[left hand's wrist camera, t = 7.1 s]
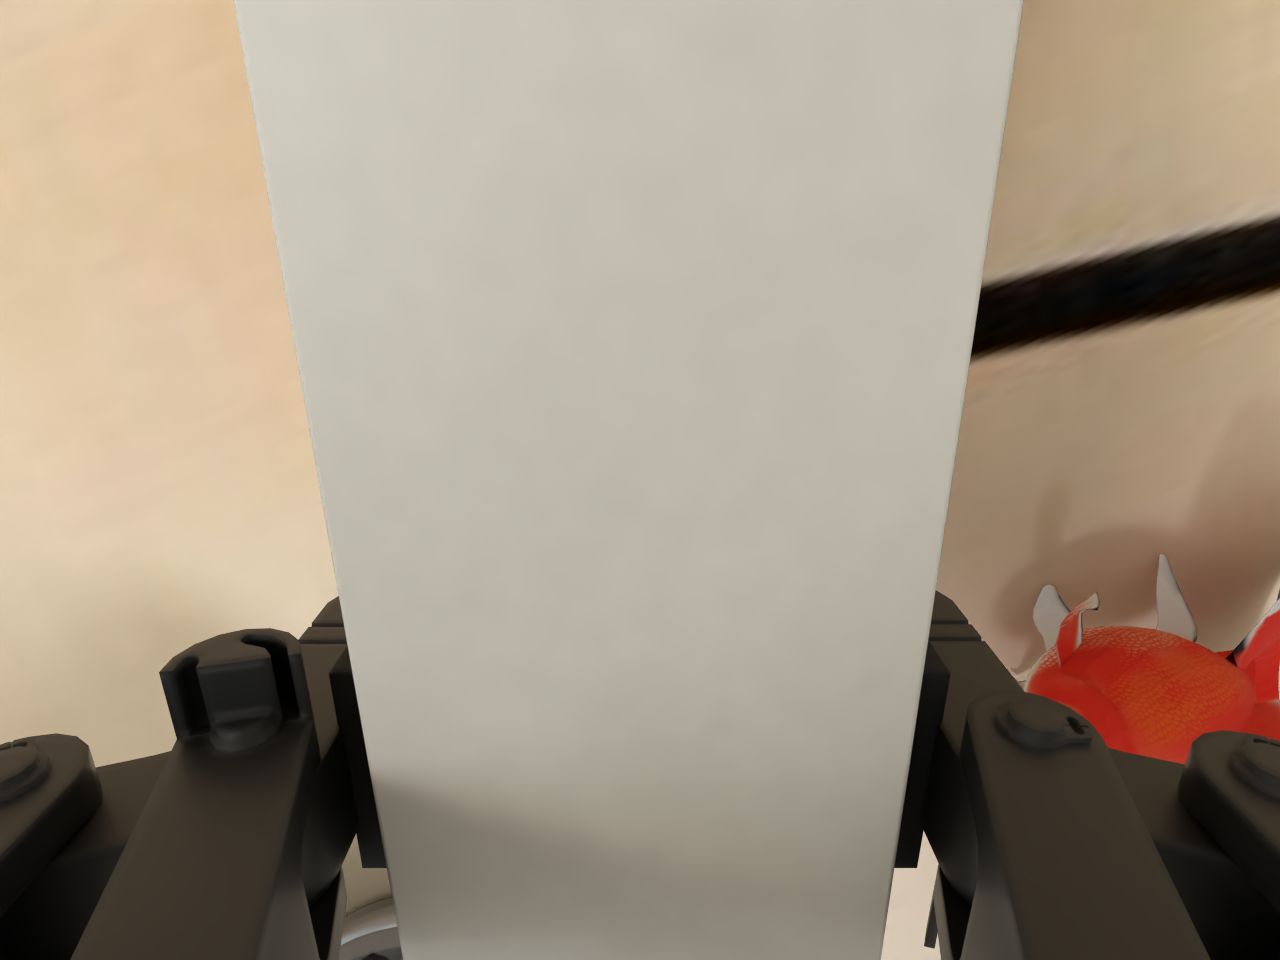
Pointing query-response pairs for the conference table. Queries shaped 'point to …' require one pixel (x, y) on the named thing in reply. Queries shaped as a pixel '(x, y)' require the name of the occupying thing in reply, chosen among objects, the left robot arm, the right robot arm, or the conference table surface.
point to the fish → (1156, 675)
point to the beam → (634, 440)
